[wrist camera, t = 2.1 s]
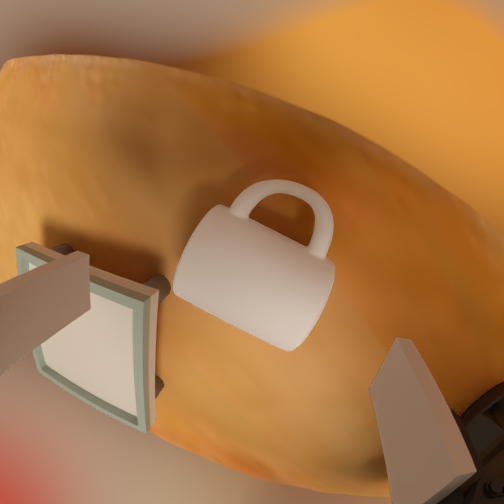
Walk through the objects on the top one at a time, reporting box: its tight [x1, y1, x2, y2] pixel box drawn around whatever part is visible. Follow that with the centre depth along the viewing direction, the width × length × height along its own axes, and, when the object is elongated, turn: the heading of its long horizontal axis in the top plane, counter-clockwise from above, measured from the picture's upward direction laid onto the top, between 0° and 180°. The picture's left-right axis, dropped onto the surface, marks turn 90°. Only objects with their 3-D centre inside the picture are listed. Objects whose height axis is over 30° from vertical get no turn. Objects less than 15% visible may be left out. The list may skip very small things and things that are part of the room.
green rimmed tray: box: [16, 242, 171, 434], centre depth 27 cm, size 18×18×7 cm
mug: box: [173, 179, 335, 351], centre depth 21 cm, size 12×10×8 cm
